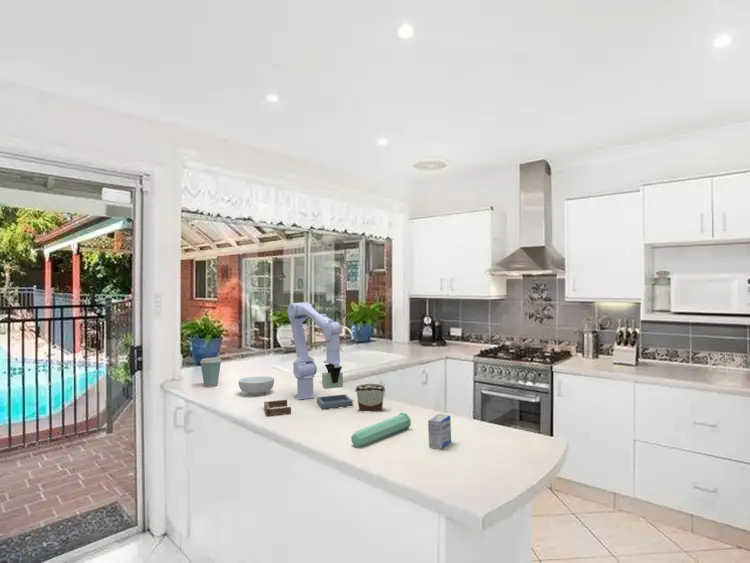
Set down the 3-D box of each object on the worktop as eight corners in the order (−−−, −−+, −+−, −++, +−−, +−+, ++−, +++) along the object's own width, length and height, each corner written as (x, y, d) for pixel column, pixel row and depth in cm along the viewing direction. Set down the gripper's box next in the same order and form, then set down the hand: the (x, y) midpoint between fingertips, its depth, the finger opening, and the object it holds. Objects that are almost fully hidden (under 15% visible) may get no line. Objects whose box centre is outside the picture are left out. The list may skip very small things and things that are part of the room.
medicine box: (441, 450, 136) (440, 421, 137) (428, 447, 139) (427, 419, 139) (451, 442, 143) (450, 415, 143) (438, 439, 145) (438, 413, 146)
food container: (386, 407, 186) (386, 383, 186) (385, 411, 180) (385, 386, 180) (357, 407, 187) (357, 383, 187) (355, 411, 181) (355, 386, 181)
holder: (264, 407, 190) (264, 401, 190) (286, 405, 193) (286, 399, 193) (266, 416, 177) (266, 410, 177) (291, 413, 179) (290, 407, 179)
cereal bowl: (269, 397, 208) (269, 382, 208) (234, 398, 208) (233, 383, 208) (278, 389, 225) (277, 375, 225) (245, 389, 225) (245, 375, 225)
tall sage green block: (322, 386, 193) (322, 373, 193) (340, 384, 195) (340, 371, 195) (324, 389, 189) (324, 374, 189) (342, 387, 191) (342, 373, 191)
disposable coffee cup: (196, 387, 232) (195, 359, 232) (207, 383, 242) (206, 355, 243) (215, 388, 230) (214, 359, 230) (225, 383, 241) (225, 355, 241)
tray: (317, 402, 196) (316, 397, 196) (345, 399, 200) (345, 394, 200) (322, 409, 184) (322, 403, 184) (352, 406, 188) (352, 400, 188)
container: (357, 429, 139) (407, 410, 158) (345, 433, 143) (396, 414, 161) (363, 448, 138) (413, 427, 156) (351, 451, 142) (401, 430, 160)
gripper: (320, 348, 198) (321, 379, 198) (327, 353, 184) (328, 385, 184) (336, 347, 200) (336, 377, 200) (343, 351, 186) (344, 384, 186)
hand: (333, 381), depth 192 cm, fingers closed on tall sage green block, 4 cm apart
